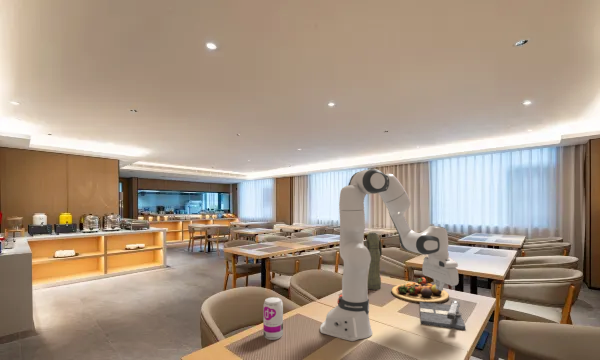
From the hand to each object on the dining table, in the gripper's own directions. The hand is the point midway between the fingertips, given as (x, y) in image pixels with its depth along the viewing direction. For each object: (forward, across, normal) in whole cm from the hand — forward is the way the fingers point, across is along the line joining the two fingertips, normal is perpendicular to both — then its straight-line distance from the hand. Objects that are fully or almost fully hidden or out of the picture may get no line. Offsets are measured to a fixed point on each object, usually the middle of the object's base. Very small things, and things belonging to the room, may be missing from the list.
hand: (439, 289), depth 138 cm
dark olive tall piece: (+15, -55, -4) cm, 57 cm away
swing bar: (+9, +3, +5) cm, 11 cm away
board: (+15, -6, +5) cm, 16 cm away
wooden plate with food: (+15, -36, +15) cm, 42 cm away
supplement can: (+15, -7, -78) cm, 80 cm away
